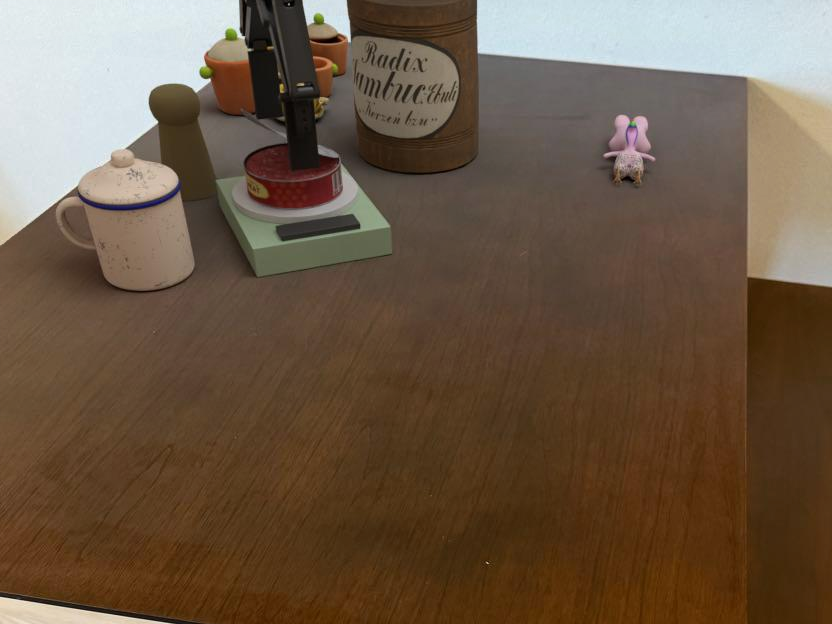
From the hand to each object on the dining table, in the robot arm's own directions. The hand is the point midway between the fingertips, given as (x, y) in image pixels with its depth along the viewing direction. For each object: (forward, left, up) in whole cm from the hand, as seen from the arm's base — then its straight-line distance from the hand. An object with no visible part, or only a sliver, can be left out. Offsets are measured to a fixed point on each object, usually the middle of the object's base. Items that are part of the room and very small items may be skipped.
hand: (286, 141), depth 98 cm
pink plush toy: (-2, +42, -9) cm, 43 cm away
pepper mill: (-12, -9, -9) cm, 18 cm away
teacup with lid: (+5, -17, -9) cm, 20 cm away
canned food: (0, 0, -5) cm, 5 cm away
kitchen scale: (+2, 0, -9) cm, 9 cm away
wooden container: (-14, +19, -9) cm, 26 cm away
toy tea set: (-39, +9, -9) cm, 41 cm away
